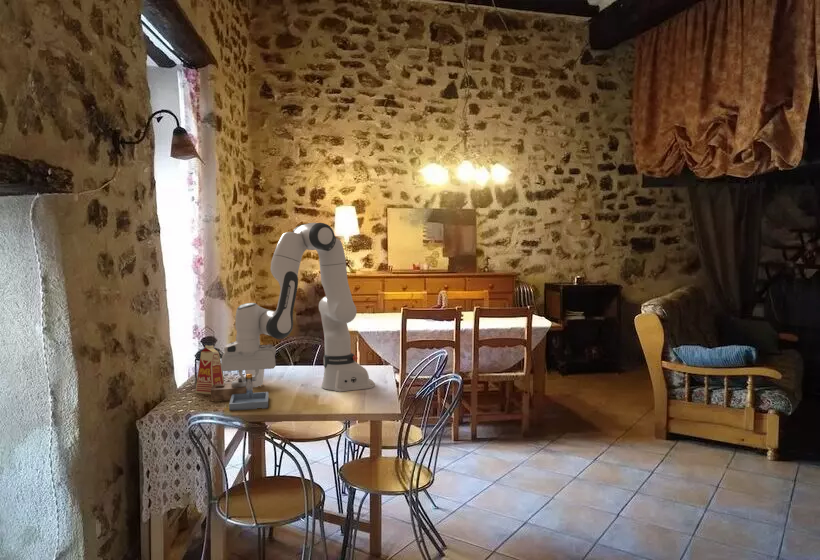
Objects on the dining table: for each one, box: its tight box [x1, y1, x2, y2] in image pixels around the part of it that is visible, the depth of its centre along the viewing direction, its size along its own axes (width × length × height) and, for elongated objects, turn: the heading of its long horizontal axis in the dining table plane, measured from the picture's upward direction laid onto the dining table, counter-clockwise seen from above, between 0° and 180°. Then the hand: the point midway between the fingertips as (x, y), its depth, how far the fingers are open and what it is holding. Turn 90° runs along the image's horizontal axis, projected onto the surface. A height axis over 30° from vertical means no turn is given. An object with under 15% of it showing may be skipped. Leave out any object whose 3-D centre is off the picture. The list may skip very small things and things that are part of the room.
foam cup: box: [244, 369, 265, 388], centre depth 259 cm, size 10×9×13 cm
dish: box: [228, 391, 270, 412], centre depth 231 cm, size 14×14×2 cm
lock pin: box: [245, 373, 254, 398], centre depth 231 cm, size 2×2×9 cm
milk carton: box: [194, 344, 225, 395], centre depth 250 cm, size 9×9×20 cm
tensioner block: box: [210, 377, 246, 402], centre depth 241 cm, size 14×8×8 cm, turn 102°
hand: (249, 381), depth 231 cm, fingers open, 3 cm apart
